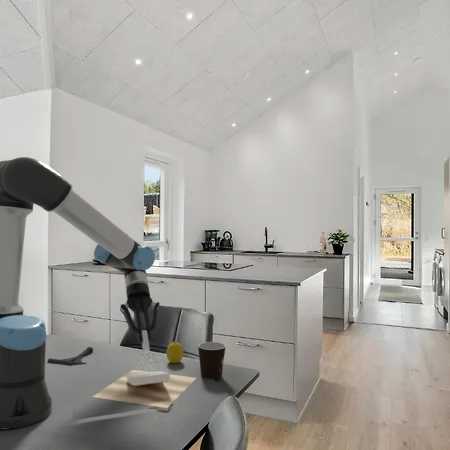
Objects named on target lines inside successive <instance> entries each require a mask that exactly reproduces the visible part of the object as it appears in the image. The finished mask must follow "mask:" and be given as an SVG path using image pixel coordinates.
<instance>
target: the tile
mask: <svg viewBox="0 0 450 450" xmlns="http://www.w3.org/2000/svg"><path fill="white" fill-rule="evenodd" d="M148 372H149V373H141V374H133V375H127V382H128V383H130V384H132V385H134V386H138V385H145V384H153V383H160V382H168V381H170V375H171V373H170V372H165V371H161V370H159V371H148Z"/></svg>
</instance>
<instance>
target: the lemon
mask: <svg viewBox="0 0 450 450" xmlns="http://www.w3.org/2000/svg"><path fill="white" fill-rule="evenodd" d="M183 357H184V349H183V346H182V345H181V343H179V342H177V341H176V340H175V341H173V342H171V343H170V344H169V345H168V347H167V349H166V358H167V360H168V361H169V362H170V363H171V364H178V363H180V362H181V361H182V360H183Z"/></svg>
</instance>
